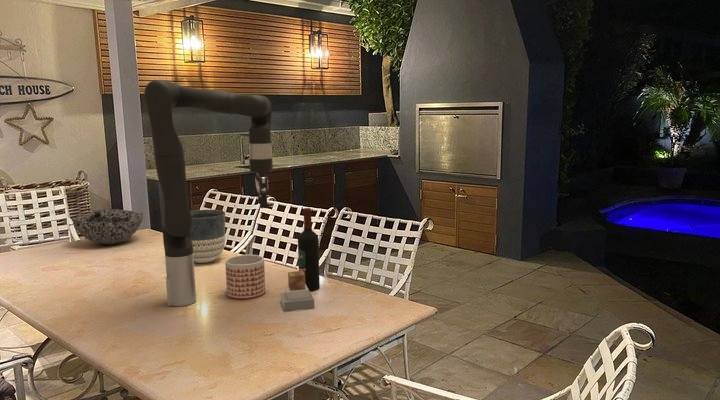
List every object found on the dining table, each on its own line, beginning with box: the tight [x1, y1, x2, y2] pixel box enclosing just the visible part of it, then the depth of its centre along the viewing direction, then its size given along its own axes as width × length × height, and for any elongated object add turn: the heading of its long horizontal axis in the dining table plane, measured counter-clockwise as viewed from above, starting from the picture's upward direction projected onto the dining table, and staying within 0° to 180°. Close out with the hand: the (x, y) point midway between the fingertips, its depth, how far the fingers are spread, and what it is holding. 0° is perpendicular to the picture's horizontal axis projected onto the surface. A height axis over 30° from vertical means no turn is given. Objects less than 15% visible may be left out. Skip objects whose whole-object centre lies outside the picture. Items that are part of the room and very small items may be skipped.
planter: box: [190, 209, 226, 264], centre depth 238 cm, size 20×20×21 cm
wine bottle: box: [297, 207, 320, 292], centre depth 200 cm, size 8×8×30 cm
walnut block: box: [287, 270, 305, 291], centre depth 184 cm, size 5×5×5 cm
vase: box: [224, 254, 266, 300], centre depth 197 cm, size 14×14×13 cm
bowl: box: [72, 208, 144, 246], centre depth 273 cm, size 31×31×15 cm
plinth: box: [280, 284, 315, 312], centre depth 185 cm, size 10×10×6 cm
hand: (262, 205), depth 181 cm, fingers open, 8 cm apart
